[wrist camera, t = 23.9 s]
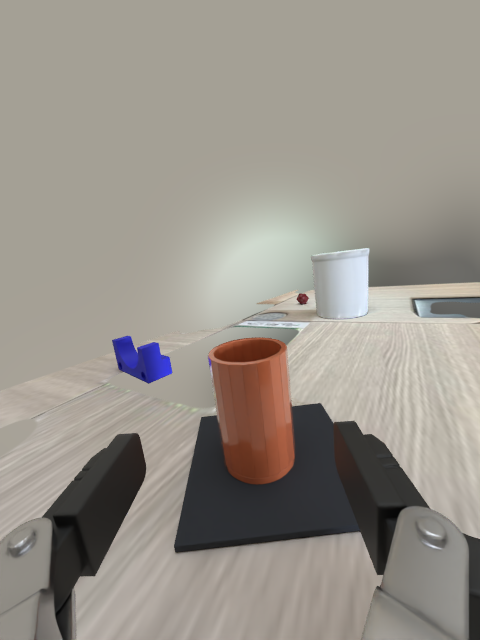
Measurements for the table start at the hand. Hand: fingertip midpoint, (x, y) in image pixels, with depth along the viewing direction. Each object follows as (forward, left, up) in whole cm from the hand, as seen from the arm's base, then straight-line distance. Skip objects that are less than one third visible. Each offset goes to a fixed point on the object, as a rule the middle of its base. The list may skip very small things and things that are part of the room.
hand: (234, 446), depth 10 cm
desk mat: (+2, +11, -10) cm, 15 cm away
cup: (+1, +11, -10) cm, 14 cm away
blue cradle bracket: (-18, +36, -10) cm, 41 cm away
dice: (+25, +86, -10) cm, 90 cm away
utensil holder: (+30, +63, -10) cm, 70 cm away
